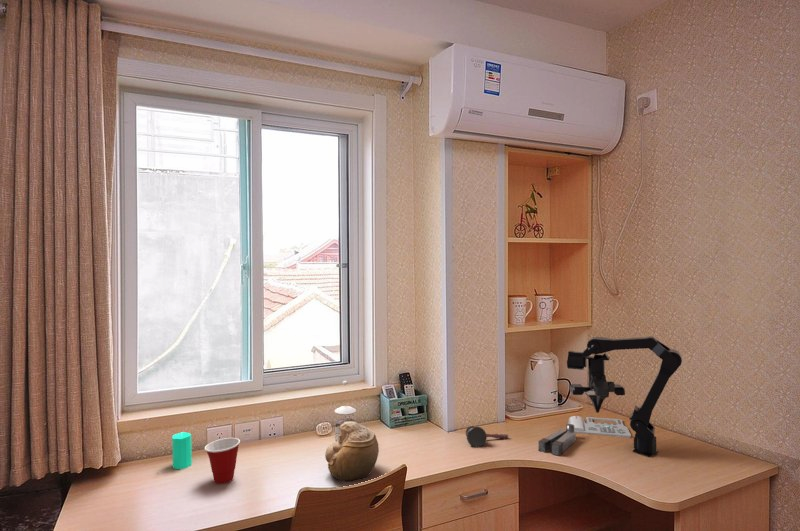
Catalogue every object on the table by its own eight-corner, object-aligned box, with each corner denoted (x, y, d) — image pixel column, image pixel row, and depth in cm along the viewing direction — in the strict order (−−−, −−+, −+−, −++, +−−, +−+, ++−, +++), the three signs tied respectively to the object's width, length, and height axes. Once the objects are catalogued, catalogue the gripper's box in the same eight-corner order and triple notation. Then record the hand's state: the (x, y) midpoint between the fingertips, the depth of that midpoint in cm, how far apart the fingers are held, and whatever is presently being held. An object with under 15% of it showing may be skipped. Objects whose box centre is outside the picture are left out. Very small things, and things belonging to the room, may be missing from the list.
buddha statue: (333, 461, 171) (333, 411, 172) (381, 464, 170) (382, 414, 170) (317, 486, 152) (317, 430, 152) (372, 490, 150) (373, 433, 150)
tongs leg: (569, 439, 190) (568, 429, 189) (575, 440, 188) (575, 431, 188) (551, 453, 175) (551, 443, 175) (559, 455, 174) (558, 445, 174)
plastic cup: (208, 474, 161) (207, 438, 161) (242, 471, 164) (241, 435, 163) (201, 489, 151) (201, 450, 151) (238, 485, 153) (238, 447, 153)
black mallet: (466, 446, 182) (461, 441, 191) (513, 451, 184) (506, 446, 192) (468, 426, 183) (463, 422, 192) (514, 430, 185) (507, 426, 193)
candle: (173, 463, 170) (172, 429, 170) (192, 460, 173) (191, 426, 172) (172, 470, 165) (171, 434, 165) (191, 467, 167) (190, 432, 167)
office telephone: (568, 427, 198) (567, 412, 217) (568, 434, 198) (567, 418, 217) (631, 432, 191) (624, 416, 210) (631, 439, 191) (624, 422, 210)
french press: (328, 450, 181) (327, 383, 180) (339, 439, 192) (339, 375, 192) (353, 453, 178) (353, 384, 178) (363, 441, 190) (362, 377, 189)
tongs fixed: (565, 435, 194) (565, 422, 194) (575, 437, 191) (575, 425, 191) (538, 450, 179) (538, 437, 179) (549, 453, 176) (549, 440, 176)
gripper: (576, 375, 177) (577, 418, 177) (630, 376, 175) (630, 419, 175) (569, 369, 188) (569, 409, 188) (619, 369, 186) (620, 410, 186)
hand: (597, 412), depth 184 cm, fingers closed
